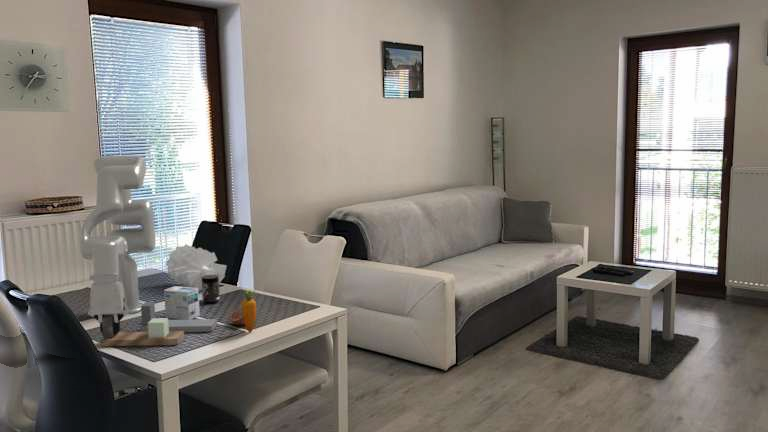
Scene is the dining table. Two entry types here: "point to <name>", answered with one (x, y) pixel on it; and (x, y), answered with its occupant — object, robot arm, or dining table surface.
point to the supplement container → (210, 289)
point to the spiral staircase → (193, 266)
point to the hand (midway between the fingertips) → (110, 333)
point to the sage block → (158, 327)
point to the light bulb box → (181, 303)
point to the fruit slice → (236, 317)
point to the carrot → (249, 311)
